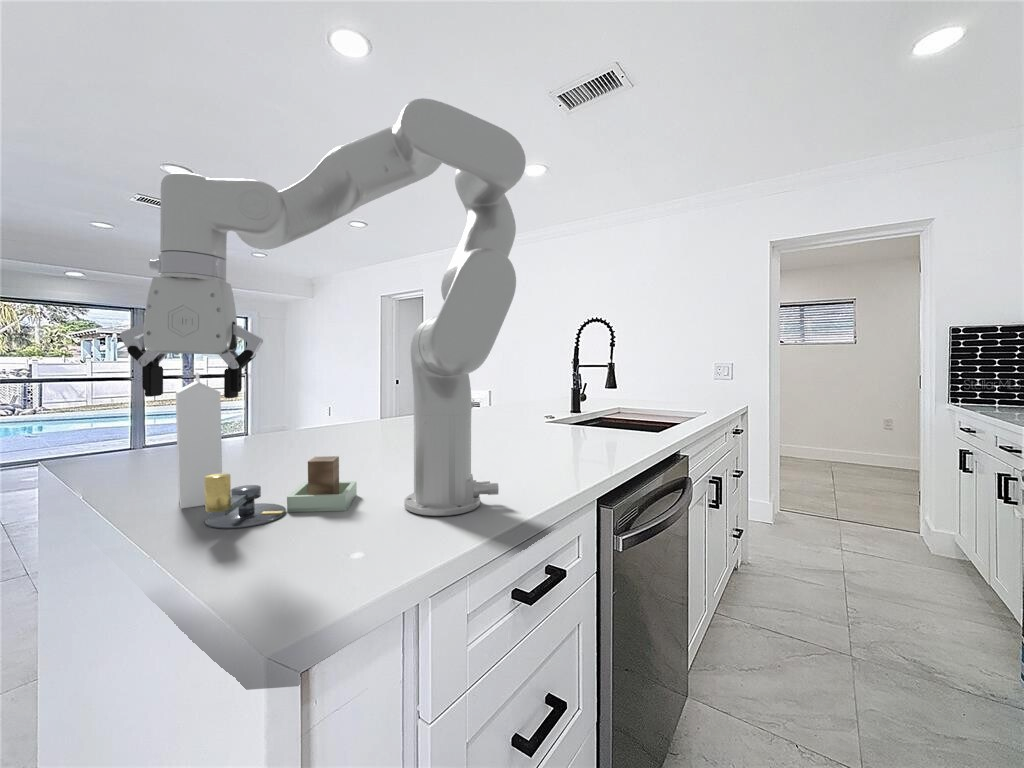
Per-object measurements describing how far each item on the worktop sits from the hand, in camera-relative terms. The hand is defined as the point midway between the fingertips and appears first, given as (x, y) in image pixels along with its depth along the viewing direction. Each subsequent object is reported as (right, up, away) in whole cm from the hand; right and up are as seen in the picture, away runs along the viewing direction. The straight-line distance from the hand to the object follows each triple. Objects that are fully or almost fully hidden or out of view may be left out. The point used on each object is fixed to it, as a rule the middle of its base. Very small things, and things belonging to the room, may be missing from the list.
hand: (193, 396), depth 67 cm
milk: (-9, -19, +16) cm, 26 cm away
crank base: (+3, -19, +9) cm, 21 cm away
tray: (+12, -19, +16) cm, 27 cm away
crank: (+3, -16, +4) cm, 17 cm away
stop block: (+12, -18, +16) cm, 27 cm away
